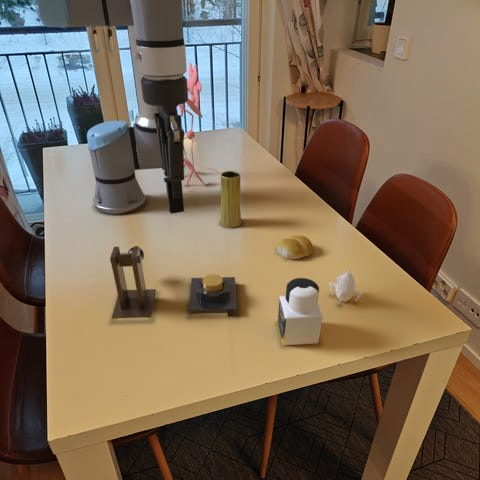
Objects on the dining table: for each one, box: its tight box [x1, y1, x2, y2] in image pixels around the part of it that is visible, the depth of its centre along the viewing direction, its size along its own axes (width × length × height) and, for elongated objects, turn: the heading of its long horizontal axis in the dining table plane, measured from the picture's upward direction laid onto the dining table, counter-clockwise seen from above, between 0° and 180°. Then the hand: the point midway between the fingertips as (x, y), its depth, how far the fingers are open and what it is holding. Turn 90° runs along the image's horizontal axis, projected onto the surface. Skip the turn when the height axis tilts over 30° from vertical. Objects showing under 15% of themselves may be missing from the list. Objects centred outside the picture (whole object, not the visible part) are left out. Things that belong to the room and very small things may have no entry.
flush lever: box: [119, 246, 145, 268], centre depth 91 cm, size 13×4×4 cm, turn 3°
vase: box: [220, 170, 242, 229], centre depth 120 cm, size 6×6×14 cm
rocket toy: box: [328, 270, 363, 305], centre depth 94 cm, size 5×5×8 cm
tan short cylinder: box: [202, 273, 223, 292], centre depth 93 cm, size 4×4×2 cm
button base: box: [188, 276, 238, 317], centre depth 95 cm, size 12×10×4 cm
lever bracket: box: [109, 245, 156, 319], centre depth 89 cm, size 10×8×14 cm
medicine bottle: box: [277, 277, 323, 346], centre depth 84 cm, size 7×7×12 cm
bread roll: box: [276, 234, 314, 260], centre depth 111 cm, size 8×9×4 cm
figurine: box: [177, 62, 219, 193], centre depth 140 cm, size 15×26×35 cm, turn 19°
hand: (176, 211), depth 85 cm, fingers closed
